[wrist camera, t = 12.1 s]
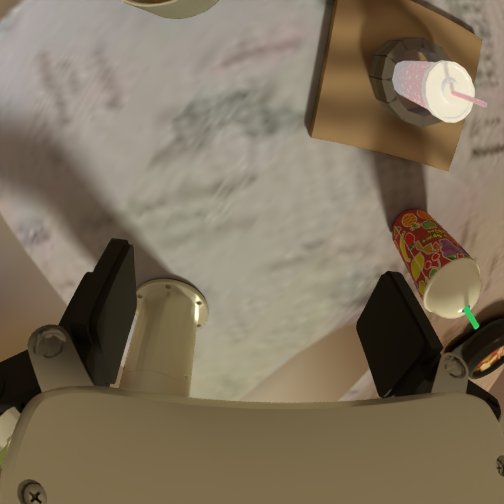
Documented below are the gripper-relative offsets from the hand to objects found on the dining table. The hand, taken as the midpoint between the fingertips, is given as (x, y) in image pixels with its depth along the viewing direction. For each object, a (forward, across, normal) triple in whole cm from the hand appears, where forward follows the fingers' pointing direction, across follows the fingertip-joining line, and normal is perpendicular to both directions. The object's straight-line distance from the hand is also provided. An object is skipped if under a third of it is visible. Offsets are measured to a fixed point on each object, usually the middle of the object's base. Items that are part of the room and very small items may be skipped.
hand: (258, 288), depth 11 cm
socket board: (+26, -17, -11) cm, 33 cm away
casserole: (+28, -68, +35) cm, 81 cm away
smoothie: (+27, -26, +9) cm, 39 cm away
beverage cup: (+25, -17, -11) cm, 32 cm away
